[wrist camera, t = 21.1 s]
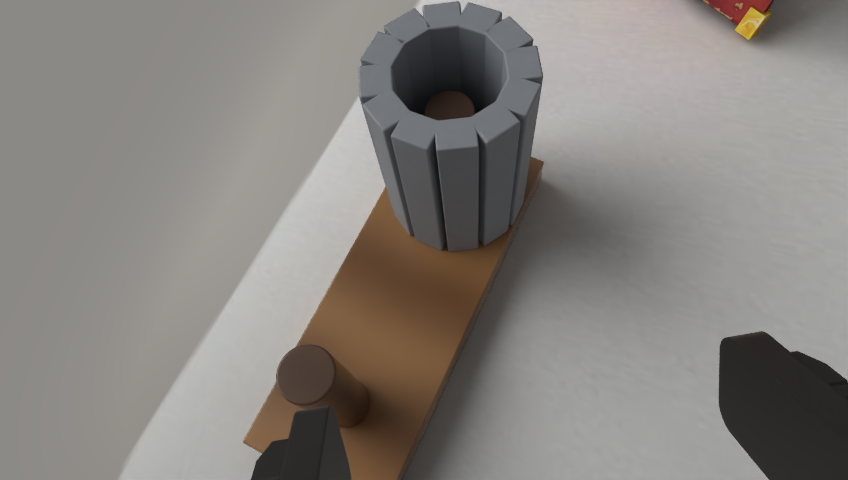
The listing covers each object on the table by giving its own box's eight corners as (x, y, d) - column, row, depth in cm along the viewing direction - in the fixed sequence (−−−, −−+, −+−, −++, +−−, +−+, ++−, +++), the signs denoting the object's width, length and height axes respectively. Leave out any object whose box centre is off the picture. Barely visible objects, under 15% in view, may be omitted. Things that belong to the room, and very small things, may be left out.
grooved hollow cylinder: (491, 271, 24) (497, 175, 17) (368, 221, 26) (325, 112, 18) (542, 160, 26) (568, 30, 19) (426, 118, 28) (407, -17, 20)
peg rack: (385, 516, 22) (345, 526, 16) (255, 445, 24) (165, 425, 17) (541, 177, 28) (562, 72, 21) (426, 135, 29) (410, 24, 22)
